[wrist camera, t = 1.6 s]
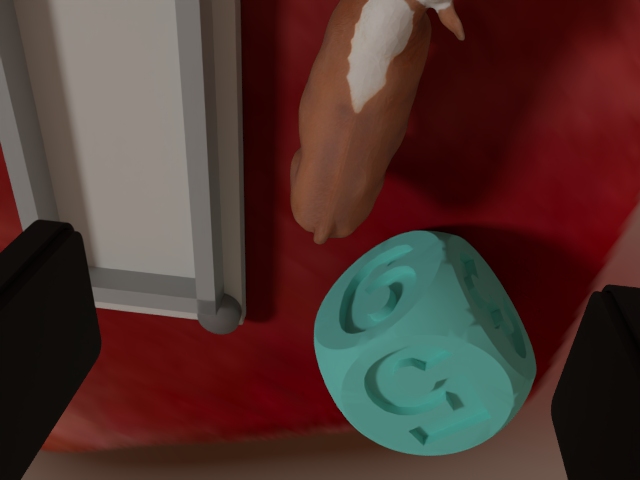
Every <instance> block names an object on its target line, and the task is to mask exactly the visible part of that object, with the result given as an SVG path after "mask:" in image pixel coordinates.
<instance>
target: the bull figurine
mask: <svg viewBox="0 0 640 480" xmlns="http://www.w3.org/2000/svg"><path fill="white" fill-rule="evenodd" d="M430 7H431V8H434V9H435V10H436V12H437V13H438V16H439V19H440V20H441V22H442V24H443V25H445V26H446V27H447V28H448V29H449V30H451V31H452V32H453V33H454V34H455V35H456V37H457V38H458V39H459V40H461V41H462V40H464V39H465V34H464V30H463V26H462V23H461V20H460V19H459V17H458V15H457V14H456V12H455V9H454V3H453V0H341V1H340V2H339V4H338V5H337V7H336V8H335V10H334V12H333V13H332V15H331V18H330V20H329V23H328V26H327V29H326V32H325V36H324V40H323V44H322V47H321V49H320V51H319V53H318V55H317V57H316V59H315V62H314V64H313V66H312V69H311V72H310V75H309V79H308V82H307V85H306V87H305V89H304V92H303V95H302V98H301V102H300V108H299V135H300V142H301V148H300V149H299V150H298V151H297V152H296V153H295V155H294V157H293V159H292V163H291V171H290V178H291V207H292V212H293V215H294V218H295V220H296V222H297V223H299V224H300V225H301V226H302V227H303V228H304V229H305V230H307V231H310V232H313V233H314V242H315V243H317V244H323V243H324V242H325V241H326V240H327V238H328V237H329V238H343V237H346V236H348V235H350V234H351V233H352V232H353V231H354V230H355V229H356V228H357V227H358V226H359V225H360V224H361V223H362V222H363V221H364V220H365V219H366V218H367V217H368V215H369V214H370V212H371V210H372V208H373V205H374V202H375V200H376V198H377V196H378V194H379V193H380V191H381V188H382V186H383V184H384V179H385V171H386V169H387V167H388V165H389V163H390V161H391V159H392V157H393V156H394V154H395V153H396V151H397V150H398V148H399V146H400V145H401V143H402V141H403V138H404V136H405V133H406V130H407V126H408V120H409V115H410V112H411V108H412V105H413V102H414V99H415V96H416V92H417V88H418V85H419V81H420V78H421V75H422V73H423V69H424V66H425V62H426V59H427V55H428V50H429V45H430V40H431V22H430V19H429V17H428V15H427V13H426V11H427V9H428V8H430Z"/></svg>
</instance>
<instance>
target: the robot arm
mask: <svg viewBox="0 0 640 480" xmlns="http://www.w3.org/2000/svg"><path fill="white" fill-rule="evenodd" d="M100 350H101V335H100V329H99V324H98V318H97V313H96V308H95V302H94V297H93V291H92V286H91V280H90V275H89V269H88V264H87V258H86V253H85V247H84V242H83V237H82V235H81V233H80V232H78V231H75V230H74V228H73V226H72V225H71V224H70V223H68V222H59V221H51V220H42V219H39V220H36V221H34V222H33V223H32V224H31V225H30V226H29V227H27V228H26V229H25V230H24V231H23V232H22V233H21V234H20V235H19V236H18V237H17V238H16V239H15V240H14V241H13V242H11V243H10V244H9V245H8V246H7V247H6V248H5V249H4V250H3V251H2V252H1V253H0V480H21V478H22V477H23V475H24V473H25V472H26V470H27V469H28V467H29V466H30V464H31V463H32V461H33V459H34V458H35V456H36V455H37V453H38V451H39V450H40V448H41V447H42V445H43V444H44V442H45V440H46V439H47V437H48V436H49V434H50V433H51V431H52V429H53V428H54V426H55V425H56V423H57V422H58V420H59V418H60V417H61V415H62V414H63V412H64V411H65V409H66V407H67V406H68V404H69V403H70V401H71V400H72V398H73V396H74V395H75V393H76V392H77V390H78V389H79V387H80V385H81V384H82V382H83V381H84V379H85V378H86V376H87V374H88V373H89V371H90V370H91V368H92V366H93V365H94V363H95V362H96V360H97V358H98V356H99V354H100ZM551 416H552V421H553V425H554V428H555V432H556V436H557V440H558V443H559V447H560V451H561V455H562V459H563V462H564V466H565V470H566V474H567V477H568V480H640V288H636V287H627V286H618V285H606V286H605V287H604V288H603V290H602V292H598V291H595V292H593V293H592V295H591V297H590V299H589V302H588V304H587V307H586V310H585V312H584V315H583V318H582V320H581V323H580V326H579V329H578V331H577V334H576V337H575V339H574V342H573V345H572V347H571V350H570V353H569V356H568V358H567V361H566V364H565V366H564V369H563V372H562V374H561V377H560V380H559V382H558V385H557V388H556V390H555V393H554V396H553V399H552V405H551Z"/></svg>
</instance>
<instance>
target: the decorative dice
mask: <svg viewBox="0 0 640 480" xmlns="http://www.w3.org/2000/svg"><path fill="white" fill-rule="evenodd" d="M314 345H315V352H316V357H317V361H318V365H319V368H320V371H321V374H322V377H323V379H324V382H325V384H326V386H327V388H328V390H329V392H330V394H331V396H332V398H333V400H334V401H335V403H336V404H337V406H338V408H339V409H340V410H341V412H342V413H343V415H344V416H345V417H346V418H347V420H348V421H349V422H350V423H351V424H352V425H353V426H354V427H355V428H356V429H357V430H358V431H359V432H361V433H362V434H363V435H365V436H366V437H368V438H369V439H371V440H373V441H375V442H376V443H378V444H380V445H383V446H385V447H387V448H390V449H393V450H396V451H399V452H403V453H408V454H415V455H445V454H451V453H456V452H460V451H464V450H467V449H470V448H472V447H474V446H476V445H479V444H481V443H483V442H484V441H486V440H488V439H489V438H491V437H492V436H494V435H495V434H497V433H498V432H499V431H500V430H501V429H503V428H504V427H505V426H506V425H507V424H508V423H509V422H510V421H511V420H512V418H513V417H514V416H515V415H516V414H517V412H518V411H519V409H520V408H521V407H522V405H523V403H524V402H525V400H526V398H527V396H528V394H529V392H530V390H531V387H532V384H533V381H534V378H535V375H536V361H535V356H534V353H533V349H532V346H531V343H530V340H529V338H528V335H527V333H526V330H525V328H524V326H523V323H522V321H521V319H520V317H519V315H518V313H517V311H516V309H515V307H514V305H513V303H512V302H511V300H510V298H509V296H508V295H507V293H506V291H505V289H504V288H503V286H502V285H501V283H500V281H499V280H498V278H497V277H496V275H495V274H494V273H493V271H492V270H491V268H490V267H489V266H488V264H487V263H486V262H485V260H484V259H483V258H482V257H481V255H480V254H479V253H478V252H477V251H476V250H475V249H474V248H473V247H472V246H471V245H470V244H469V243H468V242H467V241H466V240H464V239H463V238H461V237H459V236H456V235H452V234H449V233H444V232H437V231H411V232H407V233H403V234H400V235H397V236H395V237H392V238H390V239H388V240H386V241H384V242H382V243H381V244H379V245H377V246H376V247H374V248H373V249H371V250H370V251H368V252H367V253H366V254H364V255H363V256H362V257H361V258H359V259H358V260H357V261H356V262H355V263H354V264H352V265H351V266H350V267H349V268H348V269H347V270H346V271H345V272H344V273H343V274H342V276H341V277H340V278H339V279H338V280H337V281H336V283H335V284H334V285H333V287H332V288H331V289H330V291H329V292H328V294H327V295H326V297H325V299H324V300H323V302H322V304H321V306H320V309H319V311H318V314H317V317H316V321H315V329H314Z"/></svg>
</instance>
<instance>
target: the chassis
mask: <svg viewBox="0 0 640 480" xmlns="http://www.w3.org/2000/svg"><path fill="white" fill-rule="evenodd" d="M0 141H1V145H2V149H3V153H4V157H5V161H6V165H7V169H8V173H9V177H10V181H11V185H12V189H13V193H14V197H15V201H16V205H17V209H18V213H19V217H20V221H21V225H22V229H23V231H24V230H25V229H26V228H27V227H29V226H30V225H31V224H32V223H33V222H34V221H36V220H39V219H42V220H51V221H59V222H68V223H70V224H71V225H72V226H73V228H74V230H75V231H78V232H80V233H81V235H82V237H83V242H84V247H85V253H86V258H87V264H88V269H89V275H90V280H91V286H92V291H93V297H94V302H95V307H97V308H106V309H114V310H122V311H131V312H139V313H147V314H156V315H164V316H173V317H181V318H189V319H198V320H199V322H200V324H201V325H202V326H203V327H204V328H205V329H206V330H208V331H210V332H212V333H216V334H228V333H231V332H232V331H234V330H235V329H236V328H237V326H238V324H239V325H242V324H243V321H244V319H245V316H246V280H245V225H244V170H243V115H242V59H241V4H240V0H0Z"/></svg>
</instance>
